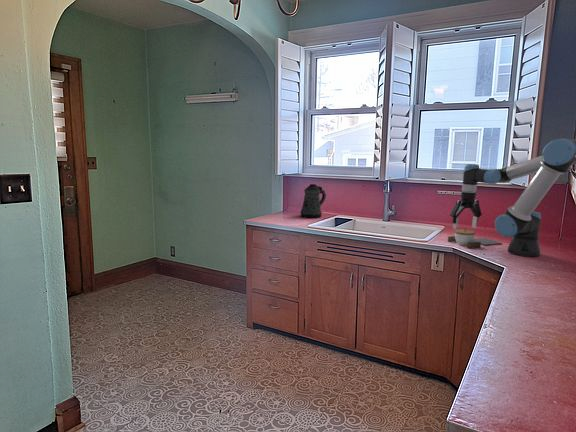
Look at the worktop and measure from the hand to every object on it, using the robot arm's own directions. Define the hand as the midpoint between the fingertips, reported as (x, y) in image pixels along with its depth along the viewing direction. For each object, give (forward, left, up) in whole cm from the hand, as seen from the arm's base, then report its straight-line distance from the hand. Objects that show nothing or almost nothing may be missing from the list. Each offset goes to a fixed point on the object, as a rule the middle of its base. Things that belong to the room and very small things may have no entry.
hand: (464, 228), depth 228 cm
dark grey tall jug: (+104, +53, -10) cm, 117 cm away
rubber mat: (+1, -16, -9) cm, 19 cm away
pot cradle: (0, 0, -9) cm, 9 cm away
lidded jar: (0, 0, -10) cm, 10 cm away
